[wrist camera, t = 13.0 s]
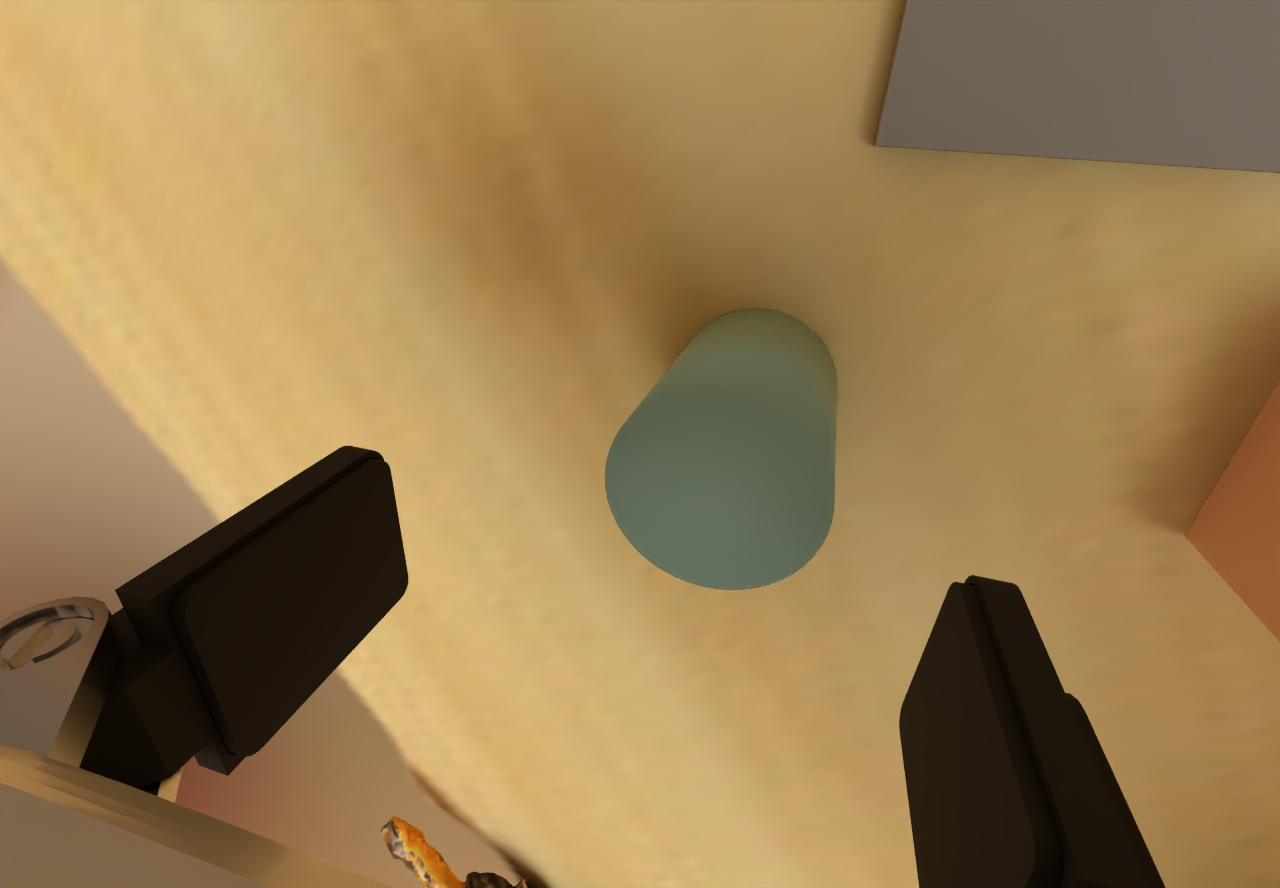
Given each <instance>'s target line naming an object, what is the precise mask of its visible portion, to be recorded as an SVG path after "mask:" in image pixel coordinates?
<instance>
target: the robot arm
mask: <svg viewBox="0 0 1280 888" xmlns="http://www.w3.org/2000/svg"><path fill="white" fill-rule="evenodd" d="M407 586H408V572H407V566H406V560H405V554H404V548H403V542H402V536H401V530H400V524H399V518H398V512H397V506H396V500H395V494H394V488H393V482H392V476H391V470H390V467H389V465H388V463H387V462H385V461H384V459H383V457H382V455H381V454H380V453H378V452H376V451H373V450H368V449H363V448H358V447H353V446H343V447H341V448H339V449H337V450H336V451H334V452H333V453H331V454H329V455H328V456H326V457H325V458H323V459H322V460H320V461H318V462H317V463H315V464H314V465H312V466H311V467H309V468H307V469H306V470H304V471H303V472H301V473H299V474H298V475H296V476H295V477H293V478H292V479H290V480H288V481H287V482H285V483H284V484H282V485H280V486H279V487H277V488H276V489H274V490H273V491H271V492H269V493H268V494H266V495H265V496H263V497H261V498H260V499H258V500H257V501H255V502H254V503H252V504H250V505H249V506H247V507H246V508H244V509H242V510H241V511H239V512H238V513H236V514H235V515H233V516H231V517H230V518H228V519H227V520H225V521H224V522H222V523H220V524H219V525H217V526H216V527H214V528H212V529H211V530H209V531H208V532H206V533H205V534H203V535H201V536H200V537H198V538H197V539H195V540H193V541H192V542H190V543H189V544H187V545H186V546H184V547H182V548H181V549H179V550H178V551H176V552H175V553H173V554H171V555H170V556H168V557H167V558H165V559H163V560H162V561H161V562H159V563H157V564H156V565H154V566H152V567H151V568H149V569H148V570H146V571H145V572H143V573H142V574H140V575H138V576H137V577H135V578H133V579H132V580H130V581H129V582H127V583H125V584H124V585H122V586H121V587H119V588H118V589H116V590H115V591H116V593H117V595H118V597H119V599H120V601H121V603H122V606H123V608H122V609H121V610H119V611H118V612H116V613H115V614H113V615H111V613H110V611H109V609H108V607H107V606H106V604H105V603H104V602H102V601H100V600H98V599H95V598H91V597H69V598H61V599H56V600H52V601H48V602H44V603H41V604H37V605H34V606H31V607H29V608H26V609H24V610H21V611H19V612H16V613H14V614H12V615H10V616H8V617H6V618H4V619H2V620H1V621H0V888H395V887H393V886H390V885H387V884H385V883H382V882H379V881H377V880H374V879H372V878H369V877H367V876H364V875H362V874H359V873H356V872H354V871H351V870H349V869H346V868H343V867H341V866H338V865H336V864H333V863H331V862H328V861H325V860H323V859H320V858H318V857H315V856H312V855H309V854H307V853H304V852H302V851H299V850H297V849H294V848H291V847H289V846H286V845H284V844H281V843H278V842H276V841H273V840H271V839H268V838H265V837H263V836H260V835H258V834H255V833H252V832H250V831H247V830H244V829H242V828H239V827H236V826H234V825H231V824H228V823H226V822H223V821H221V820H218V819H215V818H212V817H210V816H208V815H205V814H202V813H199V812H197V811H194V810H191V809H189V808H186V807H184V806H181V805H179V804H176V803H175V799H176V794H177V790H178V786H179V781H180V777H181V773H182V766H183V765H184V764H185V763H186V762H187V761H188V760H189V759H191V757H193V756H195V758H196V760H197V762H198V764H199V765H200V766H203V767H206V768H208V769H211V770H214V771H217V772H219V773H222V774H225V775H229V774H230V773H231V772H232V771H233V770H234V769H235V768H236V767H237V766H238V765H239V764H240V762H241V761H242V760H243V759H244V758H245V757H247V756H251V755H253V754H255V753H256V752H258V751H259V750H260V749H261V748H262V747H263V746H264V745H265V744H266V743H267V742H268V741H269V740H270V739H271V738H272V737H273V736H274V734H275V733H276V732H277V731H278V730H279V729H280V728H281V727H282V726H283V725H284V724H285V723H286V722H287V720H288V719H289V718H290V717H291V716H292V715H293V714H294V713H295V712H296V710H298V709H299V708H300V706H301V705H302V704H303V703H304V702H305V701H306V700H307V699H308V698H309V697H310V696H311V695H312V693H313V692H314V691H315V690H316V689H317V688H318V687H319V686H320V685H321V684H322V683H323V682H324V681H325V680H326V679H327V677H328V676H329V675H330V674H331V673H332V672H333V671H334V670H335V669H336V668H337V667H338V666H339V665H340V663H341V662H342V661H343V660H344V659H345V658H346V657H347V656H348V655H349V654H350V653H351V652H352V650H353V649H354V648H355V647H356V646H357V645H358V644H359V643H360V642H361V641H362V640H363V639H364V638H365V636H366V635H367V634H368V633H369V632H370V631H371V630H372V629H373V628H374V627H375V626H376V625H377V624H378V622H379V621H380V620H381V619H382V618H383V617H384V616H385V615H386V614H387V613H388V612H389V611H390V610H391V608H392V607H393V606H394V605H395V604H396V603H397V602H398V601H399V600H400V599H401V597H402V596H403V595H404V593H405V591H406V588H407ZM899 728H900V737H901V745H902V753H903V761H904V769H905V777H906V785H907V793H908V801H909V809H910V817H911V825H912V833H913V841H914V849H915V856H916V864H917V872H918V880H919V888H1165V886H1164V883H1163V881H1162V879H1161V877H1160V875H1159V872H1158V870H1157V868H1156V866H1155V864H1154V861H1153V859H1152V857H1151V855H1150V853H1149V851H1148V848H1147V846H1146V844H1145V842H1144V840H1143V837H1142V835H1141V833H1140V831H1139V829H1138V826H1137V824H1136V822H1135V820H1134V818H1133V815H1132V813H1131V811H1130V809H1129V807H1128V804H1127V802H1126V800H1125V798H1124V796H1123V793H1122V791H1121V789H1120V787H1119V785H1118V782H1117V780H1116V778H1115V776H1114V774H1113V771H1112V769H1111V767H1110V765H1109V763H1108V761H1107V758H1106V756H1105V754H1104V752H1103V750H1102V747H1101V745H1100V743H1099V741H1098V739H1097V736H1096V734H1095V732H1094V730H1093V728H1092V725H1091V723H1090V721H1089V719H1088V717H1087V714H1086V712H1085V710H1084V709H1083V707H1082V706H1081V704H1080V702H1079V701H1078V700H1077V699H1076V698H1075V697H1074V696H1072V695H1071V694H1068V693H1065V692H1064V689H1063V687H1062V685H1061V683H1060V680H1059V678H1058V676H1057V673H1056V671H1055V669H1054V666H1053V664H1052V662H1051V660H1050V657H1049V655H1048V653H1047V650H1046V648H1045V646H1044V643H1043V641H1042V639H1041V637H1040V634H1039V632H1038V630H1037V627H1036V625H1035V623H1034V620H1033V618H1032V616H1031V613H1030V611H1029V609H1028V607H1027V604H1026V602H1025V600H1024V597H1023V595H1022V593H1021V591H1020V589H1019V587H1018V586H1017V585H1015V584H1013V583H1008V582H1003V581H998V580H994V579H989V578H984V577H979V576H974V575H972V576H969V577H968V578H967V579H966V580H965V582H964V584H963V583H959V582H953V583H952V584H951V586H950V587H949V589H948V592H947V594H946V597H945V599H944V602H943V604H942V607H941V609H940V612H939V614H938V617H937V619H936V622H935V624H934V627H933V629H932V632H931V634H930V637H929V639H928V642H927V644H926V647H925V649H924V652H923V654H922V657H921V659H920V662H919V664H918V667H917V669H916V672H915V674H914V677H913V679H912V681H911V684H910V686H909V689H908V691H907V694H906V696H905V699H904V701H903V704H902V707H901V712H900V722H899Z"/></svg>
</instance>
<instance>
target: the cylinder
mask: <svg viewBox="0 0 1280 888" xmlns="http://www.w3.org/2000/svg"><path fill="white" fill-rule="evenodd" d="M836 397H837V378H836V371H835V367H834V364H833V360H832V358H831V356H830V354H829V351H828V350H827V348H826V346H825V345H824V343H823V342H822V340H821V339H820V338H819V337H818V336H817V335H816V333H814V332H813V331H812V330H811V329H810V328H809V327H808V326H806V325H805V324H803V323H802V322H800V321H799V320H797V319H795V318H793V317H791V316H789V315H787V314H784V313H781V312H778V311H773V310H768V309H744V310H739V311H734V312H731V313H728V314H725V315H723V316H721V317H719V318H717V319H715V320H713V321H712V322H710V323H709V324H707V325H706V326H705V327H704V328H702V329H701V330H700V331H699V332H698V333H697V334H696V335H695V337H694V338H693V339H692V340H691V341H690V343H689V344H688V345H687V346H686V348H685V349H684V350H683V351H682V353H681V354H680V355H679V356H678V358H677V359H676V360H675V361H674V362H673V364H672V365H671V366H670V367H669V369H668V370H667V371H666V372H665V374H664V375H663V376H662V377H661V379H660V380H659V381H658V382H657V384H656V385H655V386H654V387H653V389H652V390H651V391H650V392H649V394H648V395H647V396H646V397H645V398H644V400H643V401H642V402H641V403H640V405H639V406H638V407H637V408H636V410H635V411H634V412H633V413H632V415H631V416H630V417H629V418H628V420H627V421H626V422H625V423H624V425H623V426H622V427H621V429H620V430H619V432H618V433H617V435H616V437H615V438H614V440H613V443H612V445H611V447H610V450H609V454H608V457H607V461H606V469H605V487H606V493H607V499H608V502H609V505H610V508H611V511H612V513H613V516H614V518H615V520H616V522H617V524H618V526H619V527H620V529H621V531H622V532H623V534H624V535H625V536H626V538H627V539H628V540H629V542H630V543H631V544H632V545H633V546H634V547H635V548H636V549H637V550H638V551H639V552H640V553H641V554H642V555H643V556H644V557H645V558H647V559H648V560H649V561H650V562H651V563H653V564H654V565H656V566H657V567H659V568H660V569H662V570H663V571H665V572H667V573H669V574H671V575H673V576H674V577H677V578H679V579H682V580H684V581H686V582H689V583H693V584H696V585H699V586H703V587H708V588H714V589H724V590H744V589H752V588H758V587H762V586H766V585H769V584H772V583H775V582H777V581H780V580H782V579H784V578H786V577H788V576H790V575H792V574H793V573H795V572H796V571H798V570H799V569H800V568H802V567H803V566H804V565H805V564H806V563H807V562H808V561H809V560H810V559H811V558H812V557H813V556H814V555H815V554H816V552H817V551H818V550H819V549H820V547H821V546H822V544H823V542H824V540H825V538H826V536H827V534H828V532H829V529H830V526H831V523H832V518H833V512H834V489H835V443H836Z"/></svg>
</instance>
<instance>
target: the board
mask: <svg viewBox="0 0 1280 888" xmlns="http://www.w3.org/2000/svg"><path fill="white" fill-rule="evenodd" d="M874 146H882V147H897V148H912V149H928V150H943V151H958V152H973V153H988V154H1003V155H1018V156H1033V157H1048V158H1063V159H1078V160H1093V161H1108V162H1124V163H1139V164H1154V165H1169V166H1184V167H1199V168H1214V169H1229V170H1244V171H1259V172H1274V173H1280V0H906V1H905V6H904V10H903V15H902V19H901V24H900V28H899V33H898V38H897V42H896V47H895V51H894V56H893V60H892V65H891V70H890V74H889V79H888V83H887V88H886V92H885V97H884V101H883V106H882V111H881V115H880V120H879V124H878V129H877V133H876V138H875V143H874Z"/></svg>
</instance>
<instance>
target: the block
mask: <svg viewBox="0 0 1280 888" xmlns="http://www.w3.org/2000/svg"><path fill="white" fill-rule="evenodd" d="M1185 536H1186V537H1187V539H1188V540H1189V541H1190V542H1191V543H1192V544H1193V545H1194V546H1195V548H1196V549H1197V550H1198V551H1199V552H1200V553H1201V554H1202V555H1203V556H1204V558H1205V559H1206V560H1207V561H1208V562H1209V563H1210V564H1211V565H1212V567H1213V568H1214V569H1215V570H1216V571H1217V572H1218V573H1219V574H1220V575H1221V577H1222V578H1223V579H1224V580H1225V581H1226V582H1227V583H1228V584H1229V586H1230V587H1231V588H1232V589H1233V590H1234V591H1235V592H1236V593H1237V594H1238V596H1239V597H1240V598H1241V599H1242V600H1243V601H1244V602H1245V603H1246V604H1247V606H1248V607H1249V608H1250V609H1251V610H1252V611H1253V612H1254V613H1255V615H1256V616H1257V617H1258V618H1259V619H1260V620H1261V621H1262V622H1263V623H1264V625H1265V626H1266V627H1267V628H1268V629H1269V630H1270V631H1271V632H1272V634H1273V635H1274V636H1275V637H1276V638H1277V639H1278V640H1279V641H1280V381H1279V382H1278V384H1277V385H1276V387H1275V389H1274V390H1273V392H1272V394H1271V395H1270V397H1269V399H1268V400H1267V402H1266V404H1265V405H1264V407H1263V408H1262V410H1261V412H1260V413H1259V415H1258V417H1257V418H1256V420H1255V422H1254V423H1253V425H1252V427H1251V428H1250V430H1249V432H1248V433H1247V435H1246V436H1245V438H1244V440H1243V441H1242V443H1241V445H1240V446H1239V448H1238V450H1237V451H1236V453H1235V455H1234V456H1233V458H1232V459H1231V461H1230V463H1229V464H1228V466H1227V468H1226V469H1225V471H1224V473H1223V474H1222V476H1221V478H1220V479H1219V481H1218V483H1217V484H1216V486H1215V487H1214V489H1213V491H1212V492H1211V494H1210V496H1209V497H1208V499H1207V501H1206V502H1205V504H1204V506H1203V507H1202V509H1201V510H1200V512H1199V514H1198V515H1197V517H1196V519H1195V520H1194V522H1193V524H1192V525H1191V527H1190V529H1189V530H1188V532H1187V533H1186V535H1185Z"/></svg>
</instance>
